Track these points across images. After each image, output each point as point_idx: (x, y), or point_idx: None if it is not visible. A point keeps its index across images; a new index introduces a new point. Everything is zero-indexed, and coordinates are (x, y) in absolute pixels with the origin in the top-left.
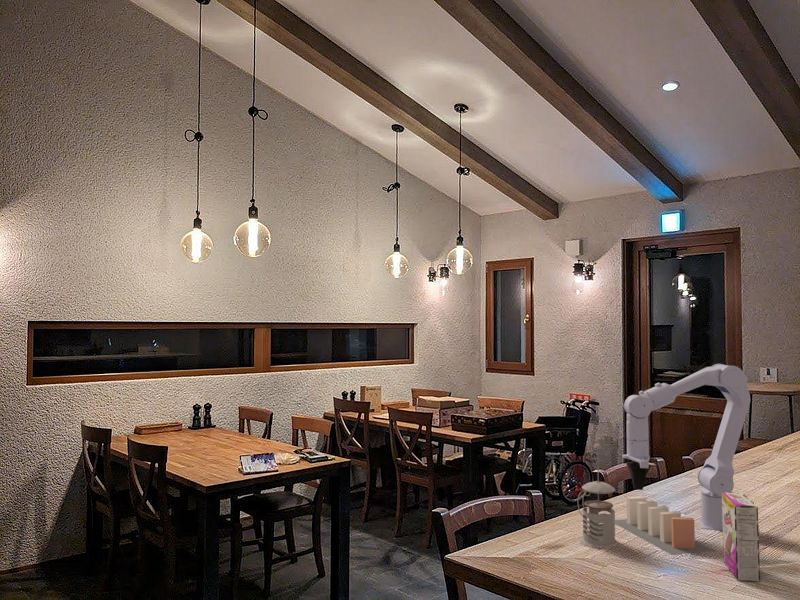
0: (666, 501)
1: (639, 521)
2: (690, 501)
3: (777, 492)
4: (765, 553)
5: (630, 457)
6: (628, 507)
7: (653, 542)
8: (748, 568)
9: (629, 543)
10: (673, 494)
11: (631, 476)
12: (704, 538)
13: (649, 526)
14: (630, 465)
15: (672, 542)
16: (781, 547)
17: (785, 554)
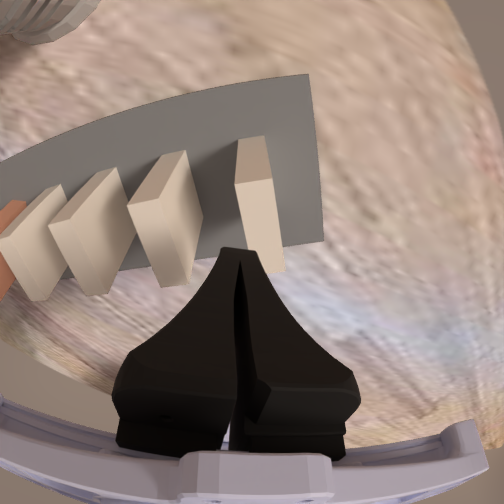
0: (441, 335)
1: (161, 164)
2: (415, 371)
3: None
4: (57, 350)
5: (115, 486)
6: (252, 161)
7: (38, 157)
8: None
9: (41, 79)
10: (466, 356)
11: (267, 300)
12: (119, 305)
13: (96, 181)
14: (121, 379)
15: (13, 206)
16: (98, 382)
17: (64, 369)
